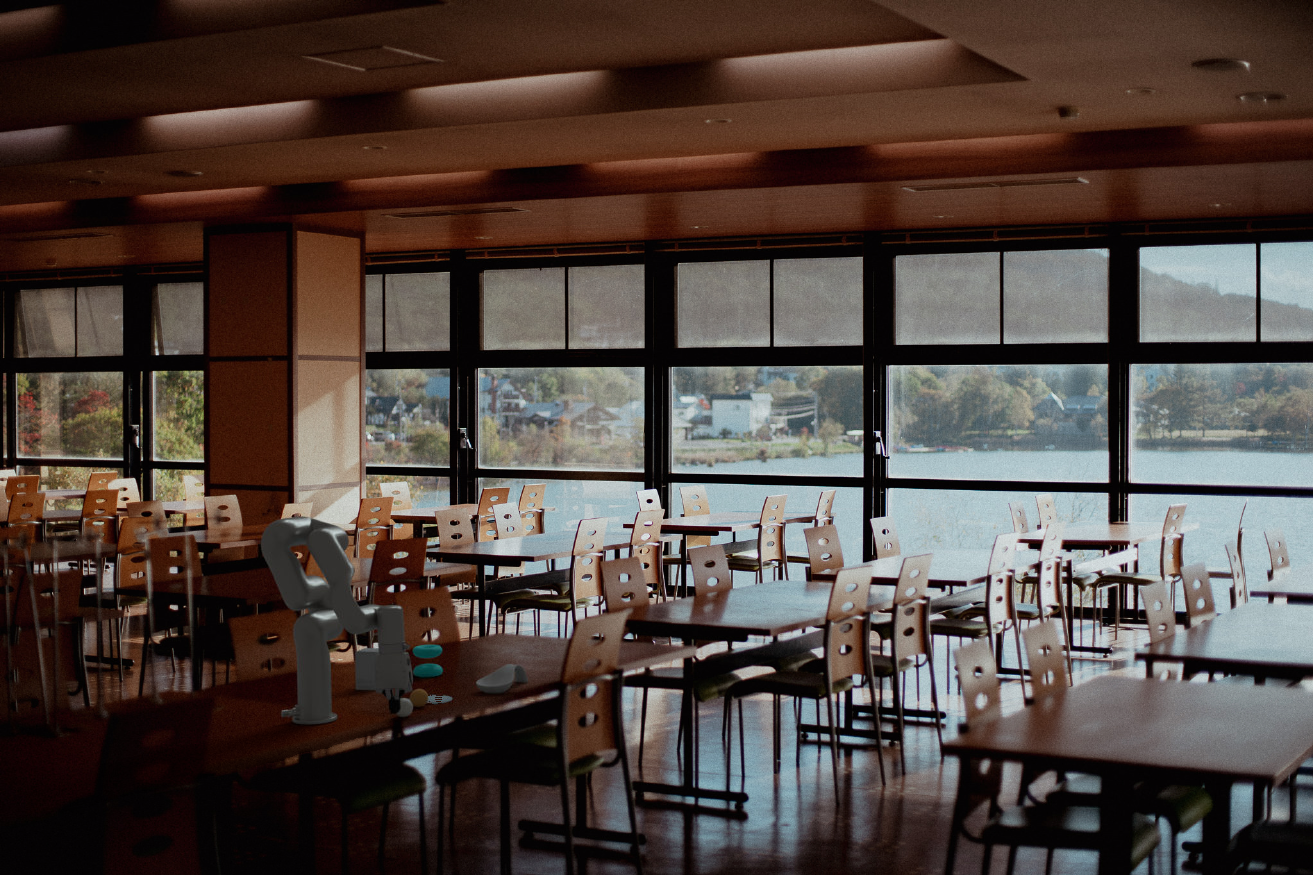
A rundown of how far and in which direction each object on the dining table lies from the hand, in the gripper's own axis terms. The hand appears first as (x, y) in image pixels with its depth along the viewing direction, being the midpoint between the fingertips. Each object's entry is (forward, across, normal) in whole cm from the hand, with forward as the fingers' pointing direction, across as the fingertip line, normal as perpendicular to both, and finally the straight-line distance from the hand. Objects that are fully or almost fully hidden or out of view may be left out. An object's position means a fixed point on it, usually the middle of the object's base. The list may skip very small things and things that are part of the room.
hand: (395, 712), depth 384 cm
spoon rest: (+4, -17, -54) cm, 57 cm away
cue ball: (0, +1, -10) cm, 10 cm away
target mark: (+3, +1, -34) cm, 34 cm away
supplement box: (+2, +27, -52) cm, 58 cm away
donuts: (+3, +15, -75) cm, 76 cm away
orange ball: (0, +1, -24) cm, 24 cm away
